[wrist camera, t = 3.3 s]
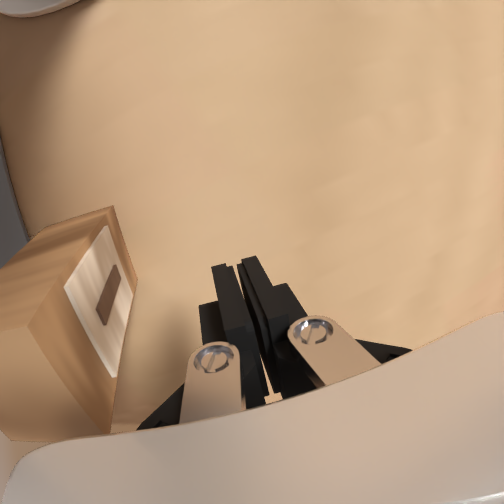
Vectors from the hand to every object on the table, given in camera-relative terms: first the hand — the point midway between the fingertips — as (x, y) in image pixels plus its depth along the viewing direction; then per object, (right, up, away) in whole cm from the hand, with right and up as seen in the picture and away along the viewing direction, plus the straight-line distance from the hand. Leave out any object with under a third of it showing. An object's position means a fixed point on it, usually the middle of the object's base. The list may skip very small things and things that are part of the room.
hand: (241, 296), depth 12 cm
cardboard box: (-10, +2, +6) cm, 12 cm away
